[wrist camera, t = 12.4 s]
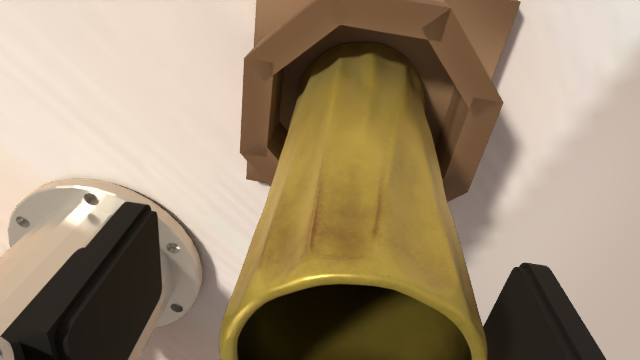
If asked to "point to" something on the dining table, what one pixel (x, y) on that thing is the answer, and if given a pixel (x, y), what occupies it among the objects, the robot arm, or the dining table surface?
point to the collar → (398, 34)
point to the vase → (355, 229)
